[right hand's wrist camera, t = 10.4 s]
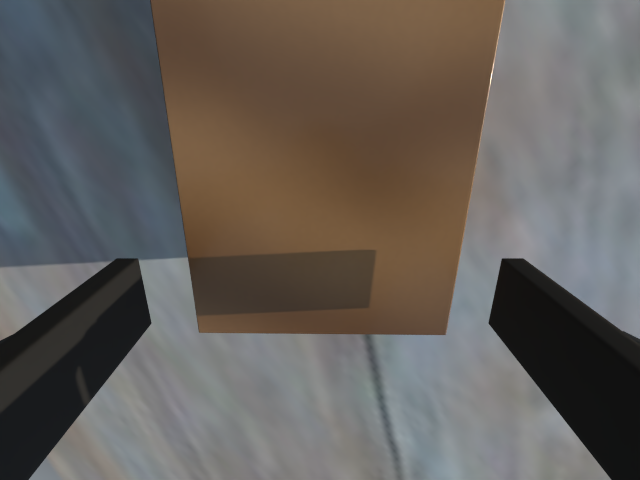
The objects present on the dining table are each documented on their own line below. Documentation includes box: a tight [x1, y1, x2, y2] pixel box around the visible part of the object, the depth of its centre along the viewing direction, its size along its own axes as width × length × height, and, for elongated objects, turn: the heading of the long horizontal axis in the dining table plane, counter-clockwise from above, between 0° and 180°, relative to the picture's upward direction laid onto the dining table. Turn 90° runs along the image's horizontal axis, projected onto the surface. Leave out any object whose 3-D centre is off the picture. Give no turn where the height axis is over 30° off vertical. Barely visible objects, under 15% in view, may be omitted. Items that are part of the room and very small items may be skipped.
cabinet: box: [150, 0, 505, 335], centre depth 16 cm, size 20×11×10 cm, turn 179°
